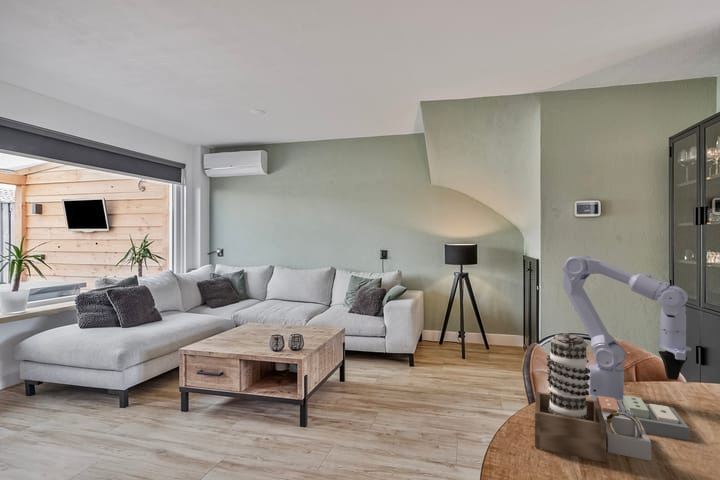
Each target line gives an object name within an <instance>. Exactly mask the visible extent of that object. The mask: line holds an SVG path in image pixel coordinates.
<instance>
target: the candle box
mask: <svg viewBox="0 0 720 480" xmlns="http://www.w3.org/2000/svg"><path fill="white" fill-rule="evenodd" d="M549 406H550V393H547V392H541V391H535V408H534V410H535V411H534V412H535V413H534V448H535V447H537V448H536V449H539V448H542V449H541V450H544V449H546V450H545V451H549V450H550V452H554V453H560V454H563V453H564V455H568V456H574V457H578V458H583V459H588V460H593V461H597V462H603V463H607V448H606V423H605V420H604V417H603V414H602V412H601V409H600V406H599V403H598V401H593V400H591V399H587V398H586V406H587V415H588V420H584V419H578V418H572V417H567V416H561V415H555V414H549V411H548V407H549Z"/></svg>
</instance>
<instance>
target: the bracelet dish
mask: <svg viewBox="0 0 720 480" xmlns="http://www.w3.org/2000/svg"><path fill="white" fill-rule="evenodd" d="M608 416H609V415H608V414H603V417H604V420H605V423H606V452H607V453H608V454H609V453H610V454H614V455H621V456H625V457H631V458H635V459H639V460H645V461H650V462H651V461H652V441H651V440H650V438H649V436H648V433H646V432H645V430H644V428H643V427H642V433H641V438H636V436H637V428H636V426H635V424H634V422H633V421H632V420H631V419H630V418H626V417H620V416H615V417H613V418H612V421H611V423H612V427H613V429H614V431H615V432H616V433H617V434H613V433H612V431H611V428H610V426H609V423H608V422H607V417H608ZM638 421H639V420H638ZM639 422H640V421H639ZM640 424H641V423H640ZM641 426H642V425H641Z"/></svg>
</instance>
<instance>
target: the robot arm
mask: <svg viewBox="0 0 720 480" xmlns="http://www.w3.org/2000/svg"><path fill="white" fill-rule="evenodd" d="M561 270H562V273H563V279H562V281H563V282H562V287H563V290H564V291H565V293H566V295H567V297H568V299H569V301H570V302H571V304H572V307H573V309H574V310H575V312H576V314H577V316H578V318H579V320H580V321H581V323H582V325H583V327H584V329H585V331H586V332H587V334H588V336H589V338H590V339H591V340H590V346H591V349H592V351H593V359H594V361H595V364H589V365H588V367H587V368H588V369H590V373H588V374H587V375H588V376H590V380H587V382H586V383H587V384H589V388H588V389H587V391H588V392H589V396H590V398H591V395H592V396H604V397H611V398H615V399H618V400H623V395H625V393H624V391H625V390H624V389H625V385H624V384H625V383H624V381H625V378H624V377H625V366H624V365H623V362H624V361H625V360H626V358H627V352H626V350H625V349H624V347H623V346H622V345H620V344H619V343H618V342H617V341H616V338H615V337H614V336H613V335H611V334H610V333H609V332H608V330H607V328H606V326H605V324H604V323H603V321H602V319H601V317H600V316H599V314H598V311H596V309H595V306H594V304H593V303H592V301H591V299H590V298H589V296H588V294H587V291H586V290H585V289H584V285H585V283H586V281H587V278H588V277H589V276H590V275H594V274H595V275H597V274H598V275H599V274H600V275H603V276H605V277H608V278H609V279H610V278H611V279H613V280H616V281H617V282H620V283H623V284H626V285H628V286H629V288H630V290H631V292H633V293H636V294H638V295H640V296H643V297H645V298H647V299H649V300H652V301H654V302H656V301H657V302H658V303H659V305H660V312H659V343H658V347H659V348H660V349H661V350H659V351H658V352H657V353H658V354H659V356H660V358H661V360H662V363H663V367H664V371H665V375H666V378H667V379H668V380H671V381H678V380H679V377H680V375H681V374H680V373H681V370H682V368H683V366H684V364H685V363H686V362H687V360H688V357H687V355H686V353H687V352H688V351H689V352H691V351H692V347H690V346H687V345H686V344H687V313H686V312H687V309H686V308H687V307H686V304H687V302H688V299H689V295H688V293H687V292H686V291H685V289H684V288H682V287H680V286H679V285H671V283H670V282H668V281H665V282H663V281H661V280H658V279H656V278H653V277H652V274H650V273H645V274H644V273H638V274H635V275H634V274H632V273H630V272H628V271H625V270H624V269H621V268H619V267H616V266H614V265H612V264H610V263H608V262H605V261H604V260H601V259H598V258H594V257H593V258H592V257H591V256H589V255H580V256H578V255H577V256H575V255H574V256H573V255H572V256H570V257H568V258H567V259H566V260H565V261H564V264H563V265H562V268H561ZM662 350H663V351H662Z"/></svg>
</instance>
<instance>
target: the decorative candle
mask: <svg viewBox="0 0 720 480" xmlns="http://www.w3.org/2000/svg"><path fill="white" fill-rule="evenodd" d="M549 341H550V352H549V355H547V356H546V361H547V363H546V366H547V367H548V370H547V375H548V376H547V379H546V380H547V382H548V390H549V391H550V393H549V394H550V406H549V407H548V411H549V414H555V415H561V416H567V417H572V418H578V419H584V420H588V415H587V406H586V399H587V397H588V396H590V394H589V391H588V388H589V384H587V383H588V380H590V376H588V373H590V369H588V367H586V366H587V365H588V363H590V362H589V359H588V356H587V347H588V346H589V343H588V342H586V341H585V340H584V337H582V336H580V335H578V334H573V333H566V332H564V333H563V332H560V333H556V334H555V335H554V336H553V338H550V340H549ZM586 381H587V382H586Z"/></svg>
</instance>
